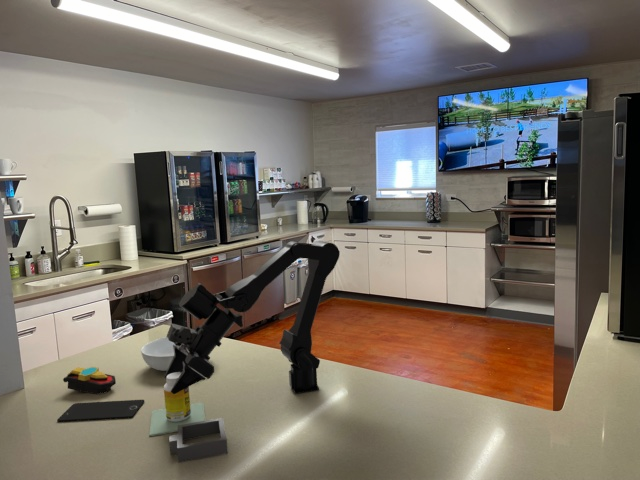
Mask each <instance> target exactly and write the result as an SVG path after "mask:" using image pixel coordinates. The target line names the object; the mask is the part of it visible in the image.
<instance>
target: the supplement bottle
mask: <svg viewBox="0 0 640 480" xmlns="http://www.w3.org/2000/svg"><path fill="white" fill-rule="evenodd" d="M181 373H182V372H181V371H180V372H175V373H171V374H169V375H167V377H166V379H165V380H166V383H165V384H164V385H163V393H164V406H165V408H166V418H167V419H168V420H169V421H171V422H179V421H183V420H185V419H187V418H188V417H189V416H190V414H191V408H190V404H191V398H190V389H189V387H190V386H189V387H187V388H185V389H183V390H181V391H180V392H178V393H176V394H173V393H171V390H172V388H173V386H174V384H175V383H176V381H177V379H178V378H179V376H180V375H181ZM165 408H164V409H165Z"/></svg>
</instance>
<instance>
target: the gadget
mask: <svg viewBox="0 0 640 480" xmlns="http://www.w3.org/2000/svg"><path fill="white" fill-rule="evenodd" d="M62 381H63V382H64V383H67V390H72V391H73V390H74V391H77V392H81V393H82V392H84V393H89V394H94V395H101V394H106V393H108V392H110V391H111V389H112V387H114V386H115V385H116V382H117V381H116V376H115V375H111V374H107V373H104V372H102V371H100V370H99V367H96V366H90V367H87V368H84V367H79V366H78V367H75V368H74V369H72V370H71V371H70V372H68V373H67V376H65V377H64V378H63V379H62Z"/></svg>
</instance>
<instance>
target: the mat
mask: <svg viewBox="0 0 640 480" xmlns="http://www.w3.org/2000/svg"><path fill="white" fill-rule="evenodd" d="M190 408H191V414H190V416H189V417H188V418H187V419H185V420H183V421H179V422H171V421H169V420H168V419H167V418H166V408H161V409H154V410H152V411H151V418H150V427H149V434H148V436H149V437H153V436H161V435H165V434H171V433H176V432H177V429H178V425H183V424H189V423H194V422H200V421H206V417H205V407H204V402H198V403H197V402H196V403H190Z"/></svg>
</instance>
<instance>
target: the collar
mask: <svg viewBox="0 0 640 480" xmlns="http://www.w3.org/2000/svg"><path fill="white" fill-rule="evenodd" d="M225 428H226V427H225V423H224V418H223V417H219V418H212V419H207V420H206V419H205V421H200V422H194V423H189V424H183V425H178V429H177V434H173V435H169V440H168V445H169V454H170V456H171V455H176V454H177V461H178V463H185V462H188V461H189V462H190V461H194V460H200V459H205V458H206V459H207V458H211V457H215V456H220V455H226V454H228V439H227V433H226V429H225ZM213 435H219V438H214V439H207V440H202V441H197V442H190V443H185V442H184V441H186V440H191V439H195V438H202V437H203V438H204V437H207V436H213ZM184 443H185V444H184Z"/></svg>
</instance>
